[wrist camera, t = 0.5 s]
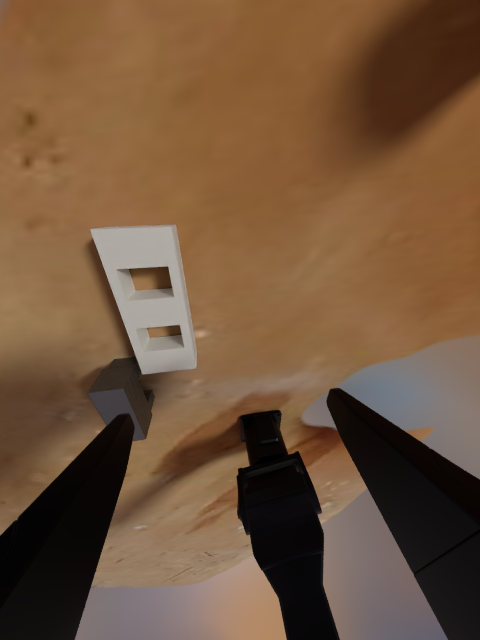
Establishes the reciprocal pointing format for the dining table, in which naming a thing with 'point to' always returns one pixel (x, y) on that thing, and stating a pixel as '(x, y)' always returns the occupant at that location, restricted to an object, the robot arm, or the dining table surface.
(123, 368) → the dark grey blocky piece
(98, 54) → the dining table surface
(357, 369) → the dining table surface
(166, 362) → the rail
